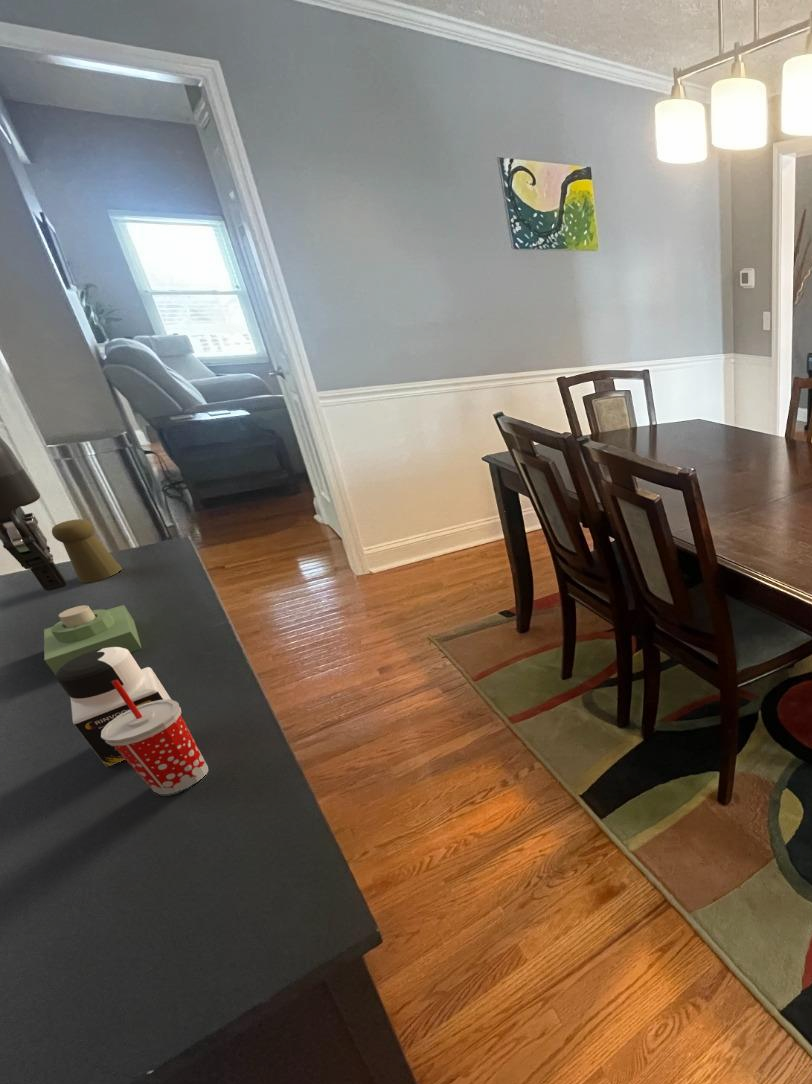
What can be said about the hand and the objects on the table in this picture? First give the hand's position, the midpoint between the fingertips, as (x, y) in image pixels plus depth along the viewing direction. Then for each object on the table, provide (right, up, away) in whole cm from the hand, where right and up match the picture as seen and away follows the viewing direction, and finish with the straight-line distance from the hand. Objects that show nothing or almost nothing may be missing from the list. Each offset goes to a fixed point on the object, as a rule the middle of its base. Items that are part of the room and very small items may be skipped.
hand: (56, 587), depth 86 cm
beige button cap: (0, -5, +3) cm, 6 cm away
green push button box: (+1, -9, +5) cm, 11 cm away
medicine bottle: (+26, -18, -13) cm, 34 cm away
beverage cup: (+37, -21, -19) cm, 47 cm away
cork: (-23, +1, +27) cm, 36 cm away
